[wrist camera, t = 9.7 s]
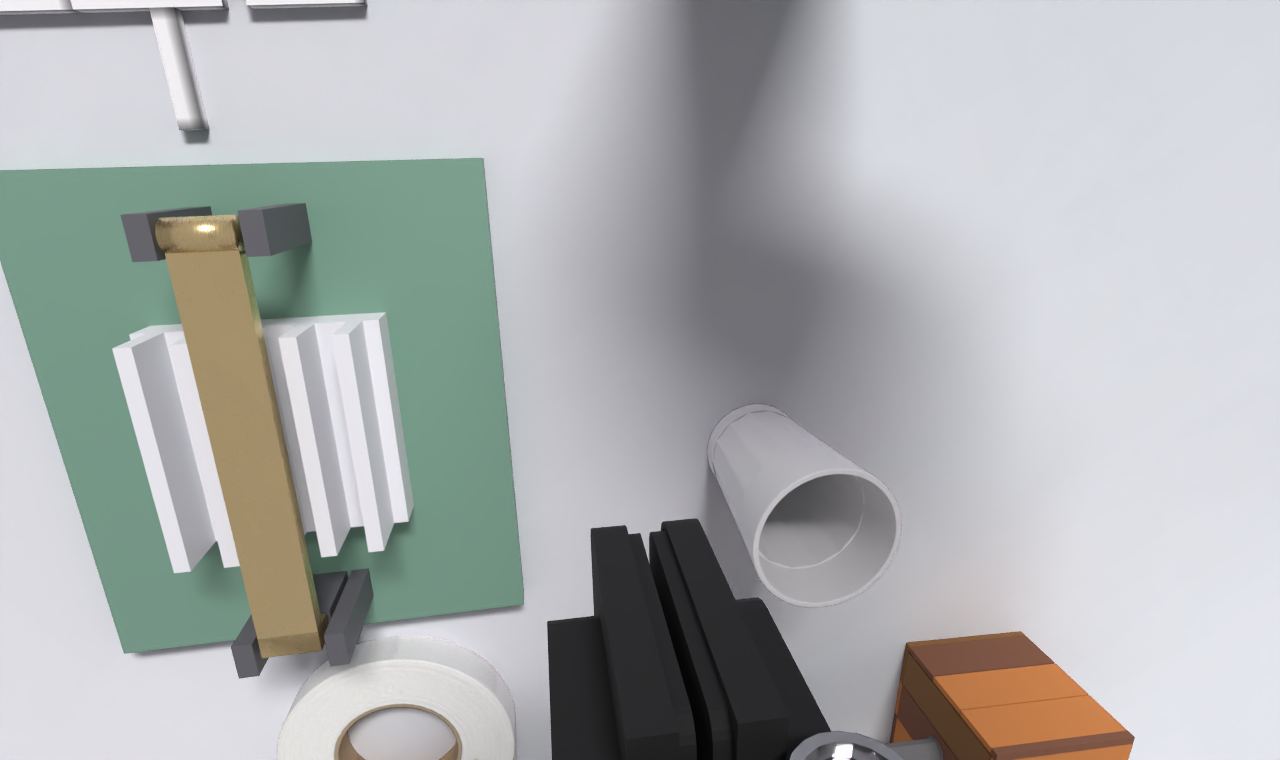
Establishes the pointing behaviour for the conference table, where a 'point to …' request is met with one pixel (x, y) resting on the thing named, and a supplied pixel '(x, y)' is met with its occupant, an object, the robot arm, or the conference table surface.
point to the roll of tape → (402, 699)
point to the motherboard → (277, 387)
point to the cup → (802, 508)
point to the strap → (244, 427)
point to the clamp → (997, 705)
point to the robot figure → (166, 37)
